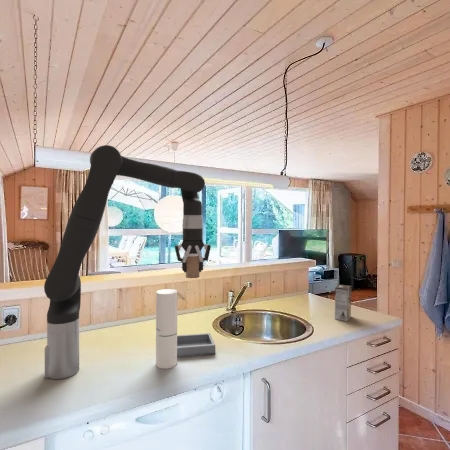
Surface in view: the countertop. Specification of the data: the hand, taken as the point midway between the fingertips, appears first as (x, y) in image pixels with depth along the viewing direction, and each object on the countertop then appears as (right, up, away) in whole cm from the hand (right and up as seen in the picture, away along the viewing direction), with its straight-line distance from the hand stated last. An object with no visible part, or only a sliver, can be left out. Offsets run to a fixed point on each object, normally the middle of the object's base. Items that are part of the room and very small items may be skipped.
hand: (192, 271), depth 118 cm
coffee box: (+73, -30, +41) cm, 88 cm away
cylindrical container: (-8, -30, -11) cm, 33 cm away
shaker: (0, -2, 0) cm, 2 cm away
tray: (0, -30, +1) cm, 30 cm away
